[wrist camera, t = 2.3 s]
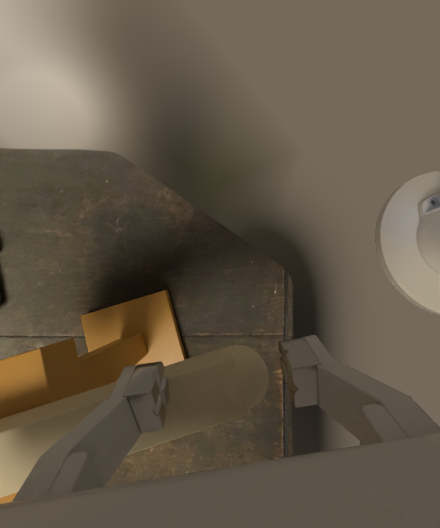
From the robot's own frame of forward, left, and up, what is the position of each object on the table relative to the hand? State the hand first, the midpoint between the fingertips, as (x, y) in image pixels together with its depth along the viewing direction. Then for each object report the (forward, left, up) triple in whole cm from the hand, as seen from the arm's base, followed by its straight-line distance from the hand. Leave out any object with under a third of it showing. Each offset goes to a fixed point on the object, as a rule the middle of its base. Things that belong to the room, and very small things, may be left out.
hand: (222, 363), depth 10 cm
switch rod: (+6, -1, -3) cm, 7 cm away
